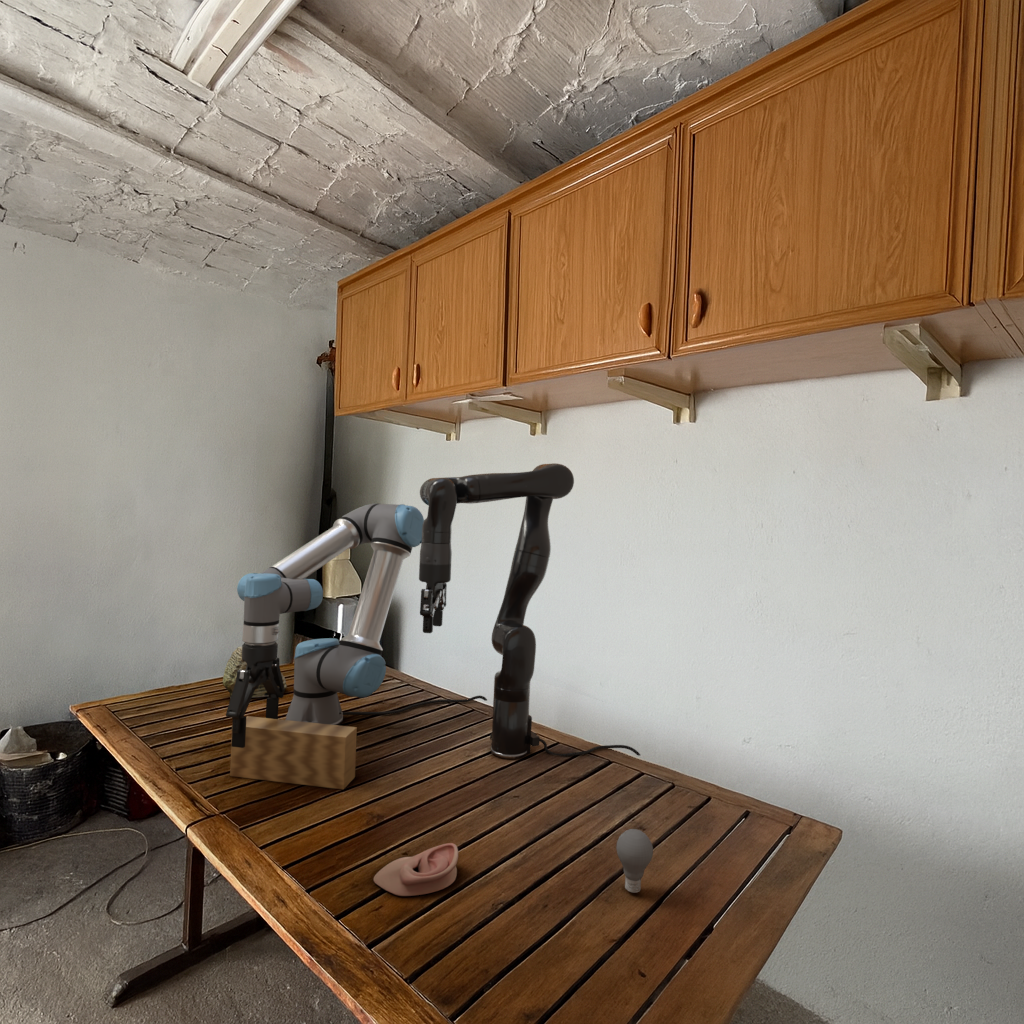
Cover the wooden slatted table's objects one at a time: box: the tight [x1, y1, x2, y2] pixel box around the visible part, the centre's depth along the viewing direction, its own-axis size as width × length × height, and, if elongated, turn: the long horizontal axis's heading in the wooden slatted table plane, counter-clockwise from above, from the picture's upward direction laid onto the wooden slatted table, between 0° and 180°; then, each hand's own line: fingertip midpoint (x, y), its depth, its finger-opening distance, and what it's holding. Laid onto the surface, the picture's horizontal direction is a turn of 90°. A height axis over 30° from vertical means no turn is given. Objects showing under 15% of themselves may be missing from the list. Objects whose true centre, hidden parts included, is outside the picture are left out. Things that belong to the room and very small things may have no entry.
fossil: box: [222, 646, 288, 699], centre depth 198 cm, size 9×18×15 cm, turn 132°
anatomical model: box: [373, 842, 459, 897], centre depth 107 cm, size 13×4×12 cm
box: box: [229, 715, 358, 790], centre depth 142 cm, size 27×6×12 cm, turn 81°
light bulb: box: [615, 828, 654, 894], centre depth 106 cm, size 6×6×10 cm
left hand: (255, 736), depth 143 cm, fingers open, 13 cm apart
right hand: (432, 629), depth 151 cm, fingers open, 8 cm apart
